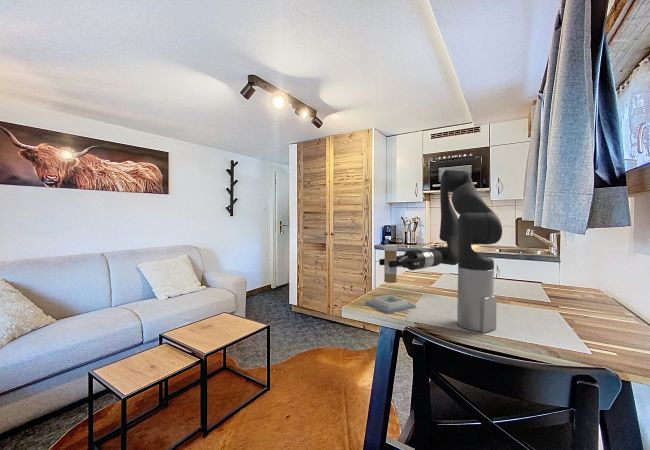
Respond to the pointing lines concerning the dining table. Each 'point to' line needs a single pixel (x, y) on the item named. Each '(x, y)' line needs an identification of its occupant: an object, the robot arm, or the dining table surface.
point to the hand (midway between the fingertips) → (384, 263)
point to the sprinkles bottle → (389, 256)
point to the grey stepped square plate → (390, 304)
